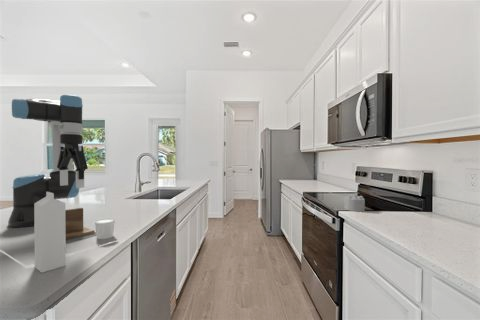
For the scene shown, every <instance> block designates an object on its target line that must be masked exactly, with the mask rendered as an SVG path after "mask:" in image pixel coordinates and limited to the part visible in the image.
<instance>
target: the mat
mask: <svg viewBox="0 0 480 320" xmlns="http://www.w3.org/2000/svg"><path fill="white" fill-rule="evenodd" d="M94 237H97V235H96V231H94V234H90V235H86V236H82V237H78V238H74V239H69V240H66V245H67V244H70V243H75V242H79V241H82V240H86V239H90V238H94Z"/></svg>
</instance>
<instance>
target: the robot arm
mask: <svg viewBox="0 0 480 320" xmlns="http://www.w3.org/2000/svg"><path fill="white" fill-rule="evenodd" d="M83 106H84V105H83V98H82V97H80V96H78V95H73V94H61V95H60V98H59V100H52V99H44V98H26V99H22V98H21V99H20V98H12V100H11V116H12V117H13V118H14V119H21V120H34V121H39V122H40V121H41V122H47V124H48V126H50V127H51V133H52V134H51V138H52V139H51V140H52V142H51V144H52V170H51V171H50V172H49V176H45V173H36V174H35V173H34V174H29V175H22V176H21V175H20V176H18V177H15V178H14V179H13V184H12V185H13V186H12V190H13V191H12V192H13V193H12V204H13V205H12V206H13V207H12V211H11V214H10V216H9V219H8V221H7V223H8V224H7V226H8V227H10V228H26V227H34V203H36V202H38V201H39V200H41V199H43V198H45V197H46V192H51V193H54V199H57V200H61V199H71V198H76V197H77V196H78V195H79V193H80V192H79V191H80V189H82V188H85V171H86V170H88V165H87V160H86V155H85V152H84V146H83V145H82V144H83V136H82V135H83ZM73 163H74V164H73ZM74 166H75V168H76V169H74Z"/></svg>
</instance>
